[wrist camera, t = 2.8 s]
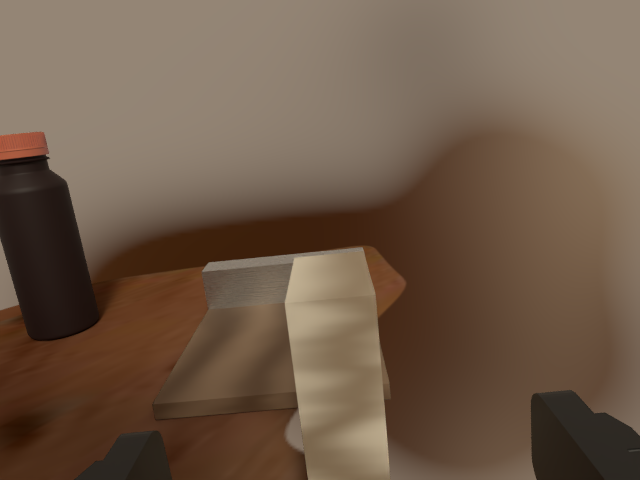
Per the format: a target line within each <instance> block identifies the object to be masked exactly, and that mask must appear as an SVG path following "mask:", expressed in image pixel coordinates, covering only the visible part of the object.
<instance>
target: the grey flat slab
mask: <svg viewBox="0 0 640 480" xmlns="http://www.w3.org/2000/svg"><path fill="white" fill-rule="evenodd" d="M379 345H380V342H379ZM380 357H381V370H382V382H383V395H384V400H389V399H391V398H390V383H389V379H388V375H387V371H386V367H385V362H384V358H383V354H382V350H381V346H380ZM152 406H153V411H154V415H155V420H160V419H171V418H183V417H194V416H206V415H217V414H229V413H240V412H252V411H263V410H275V409H286V408H298V400H297V393H296V385H295V378H294V370H293V362H292V355H291V347H290V340H289V332H288V325H287V317H286V310H285V303H274V304H264V305H253V306H243V307H232V308H222V309H211V310H208V311H207V313H206V315H205V316H204V318H203V320H202V321H201V323H200V325H199V326H198V328H197V330H196V331H195V333H194V335H193V336H192V338H191V340H190V341H189V343H188V345H187V347H186V348H185V350H184V352H183V353H182V355H181V357H180V358H179V360H178V362H177V363H176V365H175V367H174V368H173V370H172V372H171V373H170V375H169V377H168V379H167V380H166V382H165V384H164V385H163V387H162V389H161V390H160V392H159V394H158V395H157V397H156V399H155V400H154V402H153V404H152Z"/></svg>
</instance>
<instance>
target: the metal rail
mask: <svg viewBox="0 0 640 480" xmlns="http://www.w3.org/2000/svg"><path fill="white" fill-rule="evenodd" d="M358 251H363V247H362V248H352V249H342V250H332V251H321V252H311V253H301V254H291V255H281V256H271V257H261V258H251V259H241V260H231V261H221V262H212V263H208V265H207V266H206V267H205V268H204V269H203V271H202V277H203V283H204V288H205V294H206V300H207V305H208V310H211V309H222V308H232V307H243V306H253V305H264V304H274V303H285V299H286V295H287V290H288V285H289V281H290V276H291V271H292V266H293V262H294V258H296V257H307V256H317V255H327V254H338V253H348V252H358ZM363 252H364V251H363ZM364 255H365V254H364Z"/></svg>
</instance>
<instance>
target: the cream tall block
mask: <svg viewBox="0 0 640 480" xmlns="http://www.w3.org/2000/svg"><path fill="white" fill-rule="evenodd" d="M285 310H286V317H287V325H288V332H289V340H290V347H291V355H292V362H293V370H294V378H295V385H296V393H297V400H298V408H299V415H300V423H301V430H302V437H303V445H304V453H305V460H306V468H307V475H308V480H390V470H389V457H388V444H387V432H386V419H385V407H384V395H383V382H382V370H381V357H380V345H379V332H378V320H377V307H376V295H375V291H374V288H373V284H372V280H371V277H370V273H369V270H368V266H367V262H366V259H365V255H364V252H363V251H358V252H348V253H338V254H327V255H317V256H307V257H296V258H294V262H293V266H292V271H291V276H290V281H289V285H288V290H287V295H286V299H285Z"/></svg>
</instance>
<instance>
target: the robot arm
mask: <svg viewBox="0 0 640 480" xmlns="http://www.w3.org/2000/svg"><path fill="white" fill-rule="evenodd" d="M531 433H532V434H531V435H532V437H531V439H532V463H533V468H534V472H535V475H536V479H537V480H640V436H639V435H638V434H637V433H636V432H635V431H634V430H633V429H632V428H631V427H629V426H628V425H626V424H624V423H622V422H621V421H619V420H617V419H615V418H614V417H612V416H610V415H608V414H607V413H595V414H594V413H593V412H592V411H591V410H590V408H588V406H587V405H586V404H585V403H584V402H583V401H582V400H581V399H580V397H579V396H578V395H577V394H576V393H575V392H573V391H572V390H567V391H556V392H546V393H536V394H533V396H532V399H531ZM74 480H172V477H171V473H170V469H169V464H168V460H167V456H166V452H165V447H164V443H163V439H162V436H161V434H160V433H159V432H158V431H157V430H156V431H146V432H136V433H126V434H121V435H120V436H119V437H118V438H117V440H116V441H115V443H114V445H113V446H112V448H111V449H110V451H109V452H108V454H107V455H106V457H105V458H104V460H103V461H95V462H94V463H93V464H92V465H91V466H90V467H88V468H87V469H86V470H85V471H84V472H82V473H81V474H80V475H79V476H78V477H77V478H75V479H74Z"/></svg>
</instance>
